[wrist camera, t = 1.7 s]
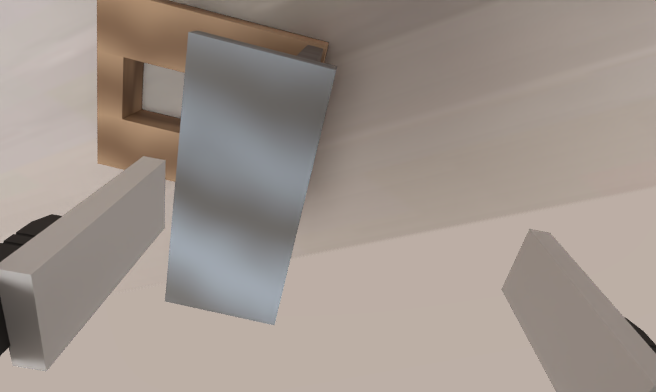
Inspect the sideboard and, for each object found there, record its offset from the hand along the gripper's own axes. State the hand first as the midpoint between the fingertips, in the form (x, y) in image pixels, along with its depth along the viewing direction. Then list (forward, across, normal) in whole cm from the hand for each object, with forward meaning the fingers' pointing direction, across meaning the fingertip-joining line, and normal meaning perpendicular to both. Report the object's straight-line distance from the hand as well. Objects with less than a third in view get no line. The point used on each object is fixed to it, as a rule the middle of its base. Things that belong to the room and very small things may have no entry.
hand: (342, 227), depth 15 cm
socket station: (+23, -11, -3) cm, 25 cm away
